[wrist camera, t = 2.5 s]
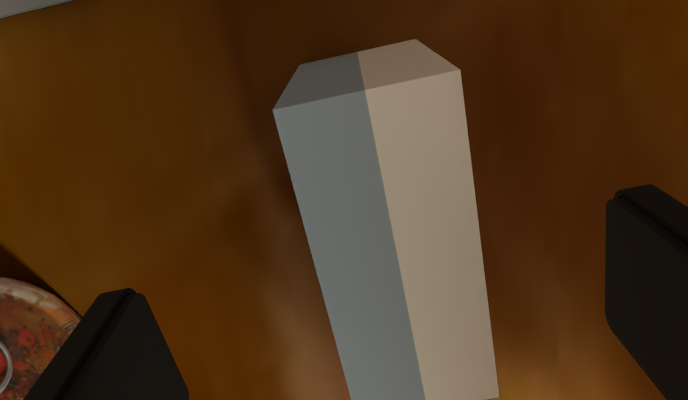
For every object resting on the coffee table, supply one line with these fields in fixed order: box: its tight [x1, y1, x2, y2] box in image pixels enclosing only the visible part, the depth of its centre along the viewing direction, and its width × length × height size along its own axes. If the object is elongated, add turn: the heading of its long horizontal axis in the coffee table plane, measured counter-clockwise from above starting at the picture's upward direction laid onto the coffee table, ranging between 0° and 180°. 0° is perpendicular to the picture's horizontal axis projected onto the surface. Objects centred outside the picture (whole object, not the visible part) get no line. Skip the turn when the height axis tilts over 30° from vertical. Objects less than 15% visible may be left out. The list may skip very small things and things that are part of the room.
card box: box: [273, 39, 499, 400], centre depth 15 cm, size 4×9×7 cm, turn 12°
